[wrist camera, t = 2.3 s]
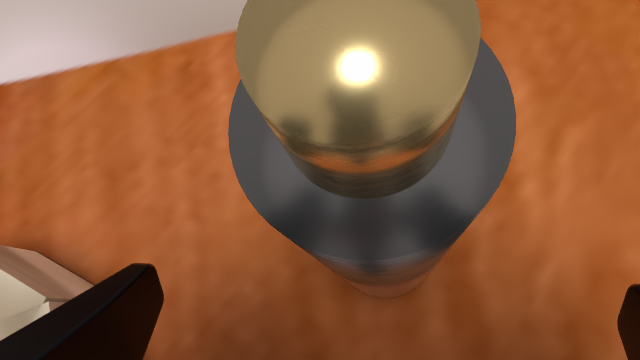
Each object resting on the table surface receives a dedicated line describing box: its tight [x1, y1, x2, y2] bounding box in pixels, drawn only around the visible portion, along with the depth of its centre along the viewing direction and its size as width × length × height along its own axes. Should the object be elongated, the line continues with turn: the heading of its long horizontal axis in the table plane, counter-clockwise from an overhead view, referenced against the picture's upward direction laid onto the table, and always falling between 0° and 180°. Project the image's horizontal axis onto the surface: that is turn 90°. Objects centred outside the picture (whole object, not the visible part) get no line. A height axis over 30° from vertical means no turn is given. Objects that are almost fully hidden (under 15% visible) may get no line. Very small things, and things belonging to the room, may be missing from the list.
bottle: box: [228, 0, 516, 298], centre depth 11 cm, size 4×4×15 cm
